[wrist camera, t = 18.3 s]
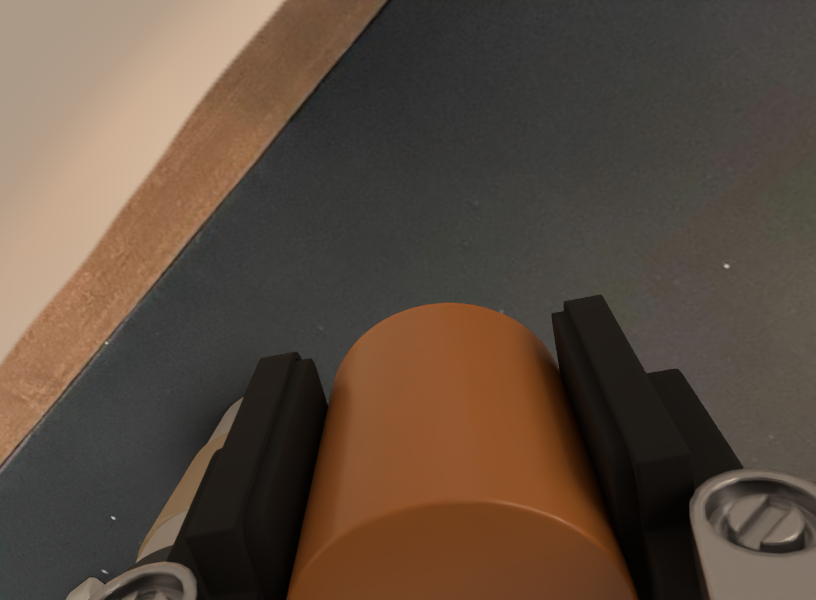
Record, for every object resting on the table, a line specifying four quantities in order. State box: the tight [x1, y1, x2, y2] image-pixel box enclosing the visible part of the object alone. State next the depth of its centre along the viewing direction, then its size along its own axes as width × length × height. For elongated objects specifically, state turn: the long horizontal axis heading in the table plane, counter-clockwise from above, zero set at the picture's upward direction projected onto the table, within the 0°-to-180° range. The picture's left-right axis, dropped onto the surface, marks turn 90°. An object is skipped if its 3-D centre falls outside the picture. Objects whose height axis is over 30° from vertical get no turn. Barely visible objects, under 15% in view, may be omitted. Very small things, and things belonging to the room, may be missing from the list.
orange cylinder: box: [286, 303, 640, 600], centre depth 9 cm, size 4×4×4 cm
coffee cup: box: [126, 397, 244, 572], centre depth 32 cm, size 9×9×15 cm
